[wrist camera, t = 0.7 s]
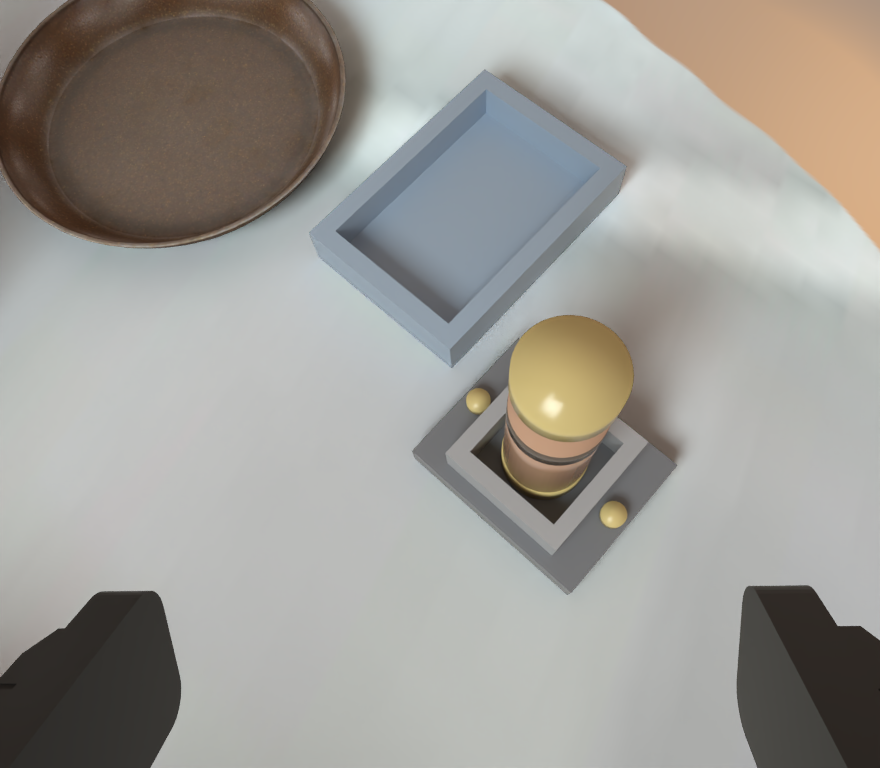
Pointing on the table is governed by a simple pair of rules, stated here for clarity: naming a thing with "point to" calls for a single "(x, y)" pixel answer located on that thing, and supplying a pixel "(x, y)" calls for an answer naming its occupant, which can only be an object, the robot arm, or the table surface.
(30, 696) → the robot arm
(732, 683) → the table surface
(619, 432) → the fuse block
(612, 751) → the table surface
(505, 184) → the parts tray
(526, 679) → the table surface
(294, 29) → the plant saucer
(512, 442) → the cylinder
